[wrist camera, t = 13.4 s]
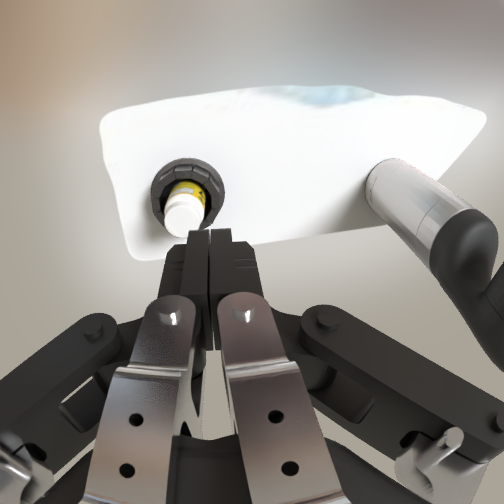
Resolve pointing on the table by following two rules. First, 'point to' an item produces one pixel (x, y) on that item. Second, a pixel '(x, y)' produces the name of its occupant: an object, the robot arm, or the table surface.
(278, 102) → the table surface
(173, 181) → the barrel ring
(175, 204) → the supplement bottle
